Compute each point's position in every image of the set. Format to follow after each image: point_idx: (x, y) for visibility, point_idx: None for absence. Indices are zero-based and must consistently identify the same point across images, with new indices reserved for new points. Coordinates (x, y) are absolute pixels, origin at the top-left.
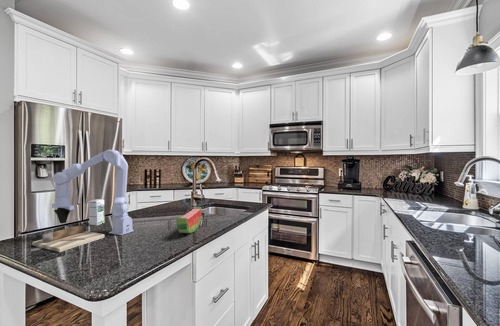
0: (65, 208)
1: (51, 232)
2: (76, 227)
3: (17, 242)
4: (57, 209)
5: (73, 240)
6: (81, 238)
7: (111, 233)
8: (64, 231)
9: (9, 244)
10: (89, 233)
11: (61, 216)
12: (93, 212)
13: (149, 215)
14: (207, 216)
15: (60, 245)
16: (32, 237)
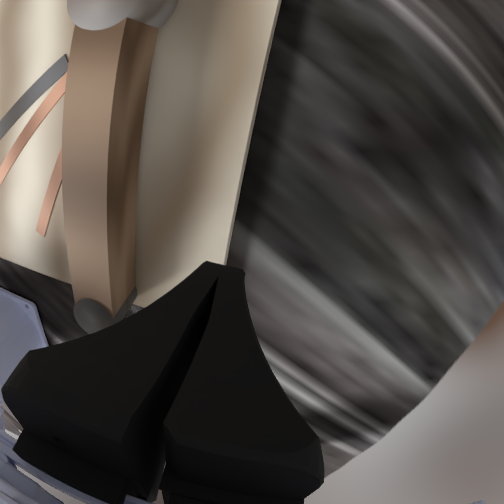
0: (20, 455)
1: (105, 25)
2: (68, 252)
3: (492, 44)
4: (275, 495)
5: (9, 108)
6: (3, 156)
7: (17, 295)
8: (67, 134)
9: (497, 7)
10: (51, 255)
11: (132, 317)
12: None
13: None
14: (10, 426)
15: (8, 18)
16: (492, 164)
